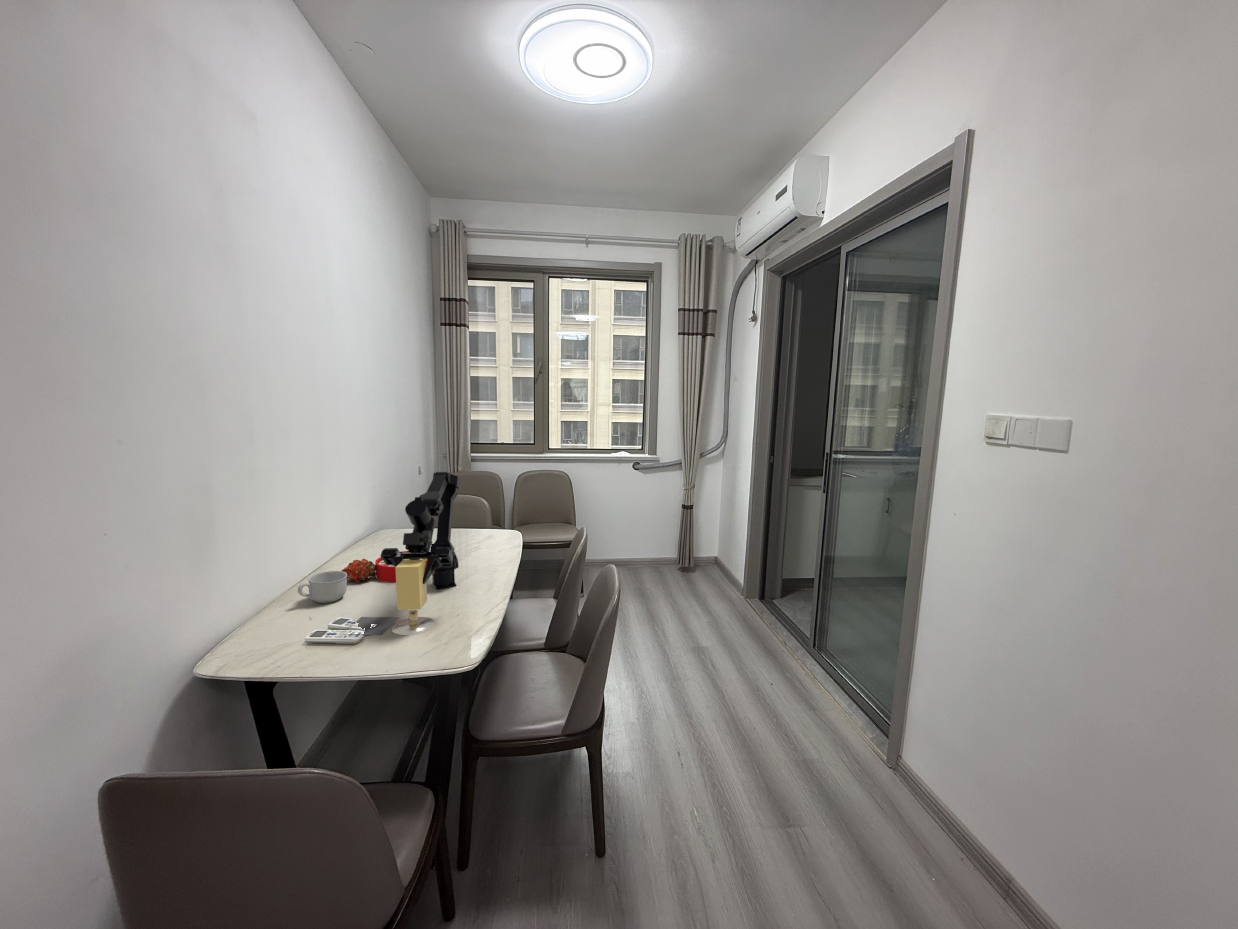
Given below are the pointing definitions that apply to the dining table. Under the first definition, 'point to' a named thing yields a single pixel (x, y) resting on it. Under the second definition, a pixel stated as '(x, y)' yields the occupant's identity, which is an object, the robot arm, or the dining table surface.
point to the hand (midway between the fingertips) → (411, 583)
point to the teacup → (325, 586)
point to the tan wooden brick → (410, 584)
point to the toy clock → (388, 570)
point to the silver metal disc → (413, 624)
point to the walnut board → (380, 628)
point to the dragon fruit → (360, 570)
